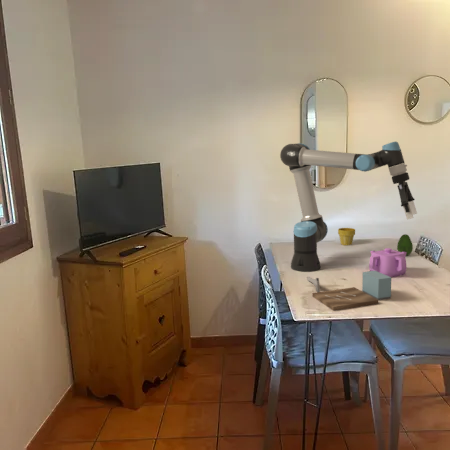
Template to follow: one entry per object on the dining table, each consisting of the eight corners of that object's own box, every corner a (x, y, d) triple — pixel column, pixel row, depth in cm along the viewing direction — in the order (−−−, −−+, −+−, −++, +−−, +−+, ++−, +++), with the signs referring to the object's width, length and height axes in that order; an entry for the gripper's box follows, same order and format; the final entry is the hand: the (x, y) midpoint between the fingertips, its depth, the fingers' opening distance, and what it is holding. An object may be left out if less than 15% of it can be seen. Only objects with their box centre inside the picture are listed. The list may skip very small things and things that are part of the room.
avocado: (405, 253, 244) (406, 232, 242) (415, 256, 237) (416, 234, 235) (393, 254, 242) (394, 233, 240) (403, 257, 234) (404, 236, 232)
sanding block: (362, 292, 183) (362, 272, 182) (374, 290, 185) (374, 270, 183) (378, 300, 173) (378, 279, 171) (390, 298, 175) (391, 277, 173)
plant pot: (357, 243, 272) (357, 228, 271) (352, 246, 264) (352, 231, 262) (340, 241, 278) (341, 227, 276) (335, 245, 269) (335, 230, 267)
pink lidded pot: (368, 277, 204) (369, 251, 201) (369, 267, 219) (370, 243, 217) (407, 279, 198) (408, 253, 195) (405, 269, 213) (406, 245, 211)
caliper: (319, 292, 185) (319, 279, 184) (317, 293, 185) (317, 279, 184) (308, 278, 205) (308, 266, 204) (306, 278, 205) (306, 266, 204)
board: (312, 296, 180) (312, 293, 180) (354, 290, 186) (354, 287, 185) (333, 310, 164) (333, 306, 164) (378, 303, 170) (378, 299, 169)
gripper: (403, 173, 192) (417, 218, 192) (411, 169, 213) (423, 210, 213) (386, 178, 196) (400, 222, 196) (395, 174, 217) (407, 214, 217)
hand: (412, 216), depth 205 cm, fingers open, 13 cm apart
